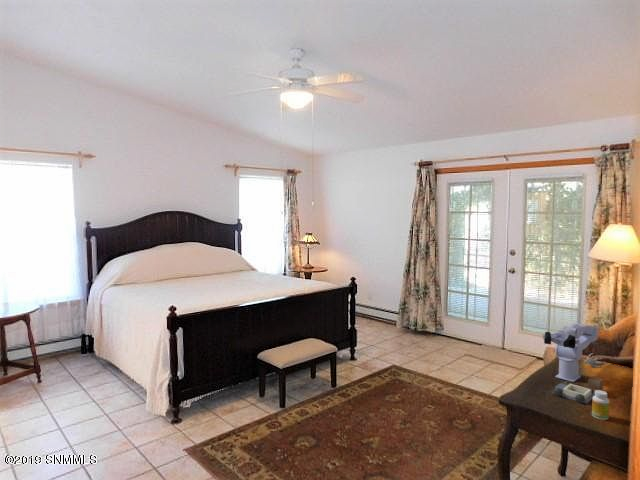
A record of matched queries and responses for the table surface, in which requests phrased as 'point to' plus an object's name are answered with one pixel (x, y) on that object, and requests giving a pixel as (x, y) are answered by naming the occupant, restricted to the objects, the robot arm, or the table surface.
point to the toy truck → (574, 392)
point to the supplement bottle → (600, 405)
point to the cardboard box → (595, 384)
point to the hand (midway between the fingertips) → (554, 342)
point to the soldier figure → (594, 361)
